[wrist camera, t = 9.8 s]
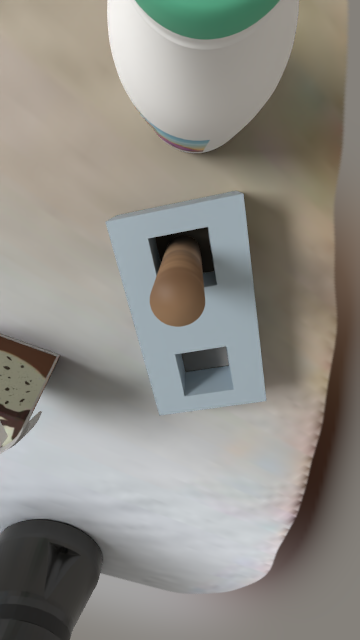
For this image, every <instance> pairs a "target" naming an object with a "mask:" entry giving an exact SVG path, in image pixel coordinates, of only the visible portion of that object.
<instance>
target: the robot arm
mask: <svg viewBox="0 0 360 640" xmlns="http://www.w3.org/2000/svg"><path fill="white" fill-rule="evenodd" d="M7 437H8V435H7V433H6V431H5V429H4V427H3V425H2V424H1V422H0V447H1V446H2V444H3V443H4V441H5V440H6V439H7ZM102 562H103V558H102V553H101V551H100V549H99V547H98V545H97V544H96V543H95V542H94V541H93V540H92V539H91V538H90V537H89V536H88V535H86V534H85V533H83V532H82V531H80V530H78V529H76V528H74V527H72V526H69V525H66V524H63V523H59V522H55V521H49V520H28V521H22V522H18V523H15V524H13V525H11V526H9V527H7V528H6V529H5V530H4V531H2V533H1V534H0V640H70V637H71V634H72V631H73V628H74V626H75V625H76V623H77V621H78V619H79V617H80V615H81V613H82V611H83V609H84V608H85V606H86V604H87V602H88V600H89V598H90V596H91V594H92V592H93V590H94V589H95V587H96V585H97V582H98V579H99V575H100V571H101V567H102Z"/></svg>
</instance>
